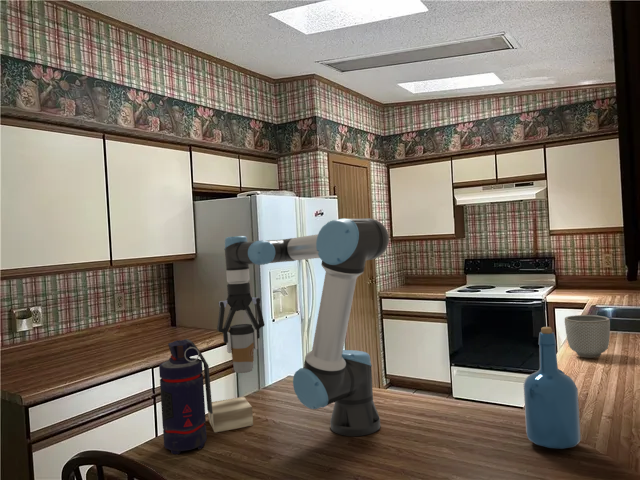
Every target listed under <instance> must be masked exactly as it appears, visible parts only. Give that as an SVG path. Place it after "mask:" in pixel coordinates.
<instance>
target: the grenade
mask: <svg viewBox="0 0 640 480" xmlns="http://www.w3.org/2000/svg"><path fill="white" fill-rule="evenodd" d="M167 345H168V348H169V351H170V357H169V360H166V361H164V362H162V363H160V364H159V366H158V368H159V369H158V370H159V373H158V374H159V378H160V379H159V387H160V388H159V389H160V401H161V402H160V404H161V405H160V407H161V419H162V422H161V423H162V435H163V447H164V448H165V449H167V450H169V451H170V452H171V454H172V455H179V454H181V452H185V451H189V450H193V449H194V450H195V449H198V450H201V449H202V448H203V447H204V446H205V443H206V441H207V438H208V437H207V425H206V424H207V423H206V421H207V420H206V408H207V412H208V411H209V412H210V413H211V414H212V413H213V411H212V402H213V401H212V392H211V391H212V390H211V379H210V368H209V367H210V365H209V364H208V362H207V361H206V359H205V357H204V355H203V353H202V352H201V351H200V349H199V348H198V347H197V346H196V344H195V343H194V342H193V341H192V340H190V339H189V338H184V339H182V340H181V339H178V340H174V341H173V342H169V343H168V344H167ZM195 356H197V357H195ZM203 373H204V374H203ZM204 385H205V386H204ZM205 396H206V404H205Z"/></svg>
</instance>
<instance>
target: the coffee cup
mask: <svg viewBox="0 0 640 480" xmlns="http://www.w3.org/2000/svg"><path fill="white" fill-rule="evenodd" d="M253 329H254V327H253V324H252V323H251V324H250V323H242V324H234V325H230V327H229V330H228V332H229V333H230V339H231V359H232V365H233V371H234V372H235V373H237V374H246V373H250V372H253V369H254V358H255V357H254V355H255V354H254V352H255V351H254V350H255V349H254V343H253V332H254V330H253Z"/></svg>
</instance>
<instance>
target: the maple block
mask: <svg viewBox="0 0 640 480" xmlns="http://www.w3.org/2000/svg"><path fill="white" fill-rule="evenodd" d="M212 411H213V413H212V414H211V413H210V412H209V411H208V410H207V412H208V413H207V414H208V422H209V424H210V426H211V427H212V430H213V432H214V433H218V432H219V433H220V432H225V431H229V430H236V429H240V428H245V427H250V426H251V427H252V426H254V417H253V416H254V414H253V406H252V405H251V403H249V401H248V400H247V399H246V397H245V396H240V397H239V396H238V397H235V398H234V397H233V398H229V399H220V400H216V401H212Z"/></svg>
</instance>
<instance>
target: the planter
mask: <svg viewBox="0 0 640 480" xmlns="http://www.w3.org/2000/svg"><path fill="white" fill-rule="evenodd" d="M564 326H565V334H566V340H567V343H568V346H569V348H570V349H571V350H572V351H574V353H576V355H577V356H579V357H582V358H588V359H589V358H590V359H592V358H594V359H596V358H599V357H601V356H602V354H603V353H604V352H606V351H607V350H608V348H609V345H610V336H611V335H610V334H611V333H610V331H611V321H610V318H609V317H607V316H604V315H603V316H602V315H593V314H580V315H570V316H566V317H564Z"/></svg>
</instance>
